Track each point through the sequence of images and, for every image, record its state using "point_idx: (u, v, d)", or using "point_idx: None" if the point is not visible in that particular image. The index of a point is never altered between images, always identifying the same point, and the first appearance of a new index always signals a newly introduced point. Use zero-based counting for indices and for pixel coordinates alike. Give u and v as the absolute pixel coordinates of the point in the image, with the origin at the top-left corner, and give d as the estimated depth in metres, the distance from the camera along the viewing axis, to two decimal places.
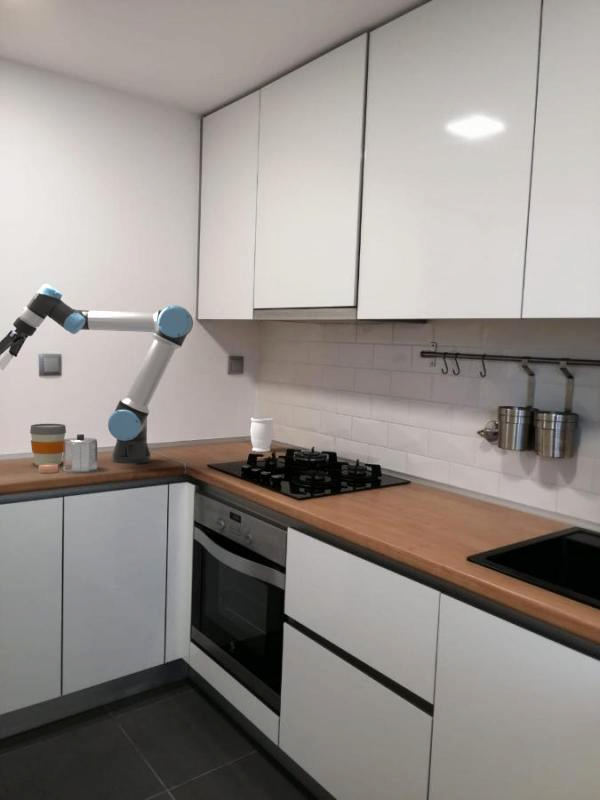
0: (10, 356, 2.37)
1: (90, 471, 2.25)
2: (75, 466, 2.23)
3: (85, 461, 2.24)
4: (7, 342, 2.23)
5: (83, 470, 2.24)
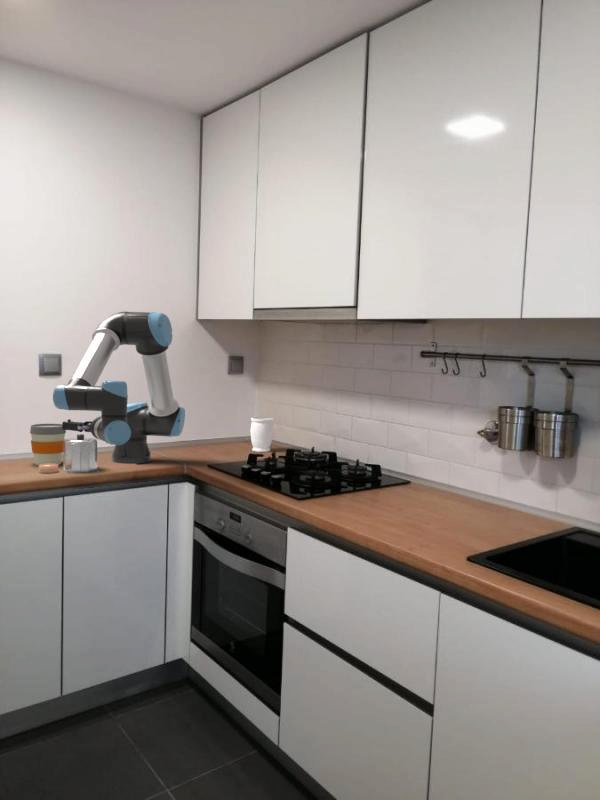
0: None
1: (90, 471, 2.25)
2: (75, 466, 2.23)
3: (85, 461, 2.24)
4: None
5: (83, 470, 2.24)
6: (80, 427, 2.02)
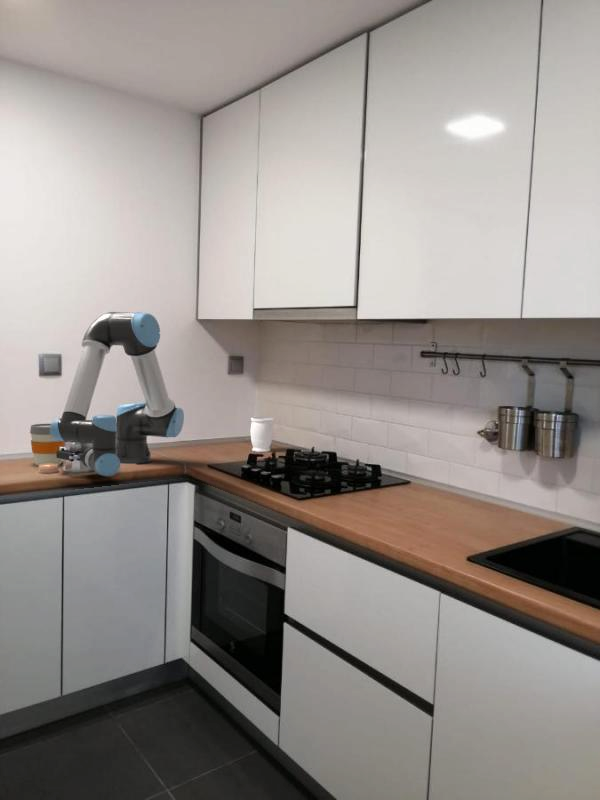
0: None
1: (90, 471, 2.25)
2: (75, 466, 2.23)
3: None
4: None
5: (83, 470, 2.24)
6: (71, 457, 2.15)
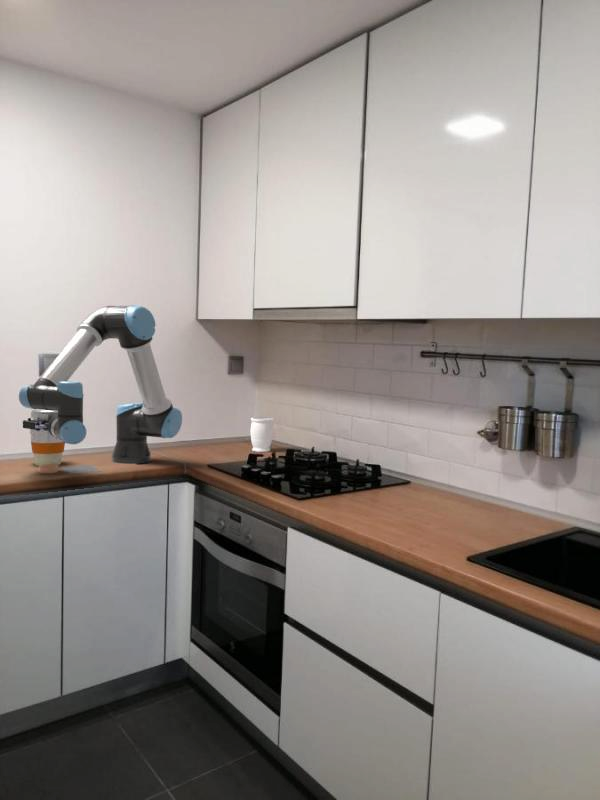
0: None
1: (90, 471, 2.25)
2: (42, 437, 2.16)
3: None
4: None
5: (51, 441, 2.17)
6: (37, 426, 2.08)
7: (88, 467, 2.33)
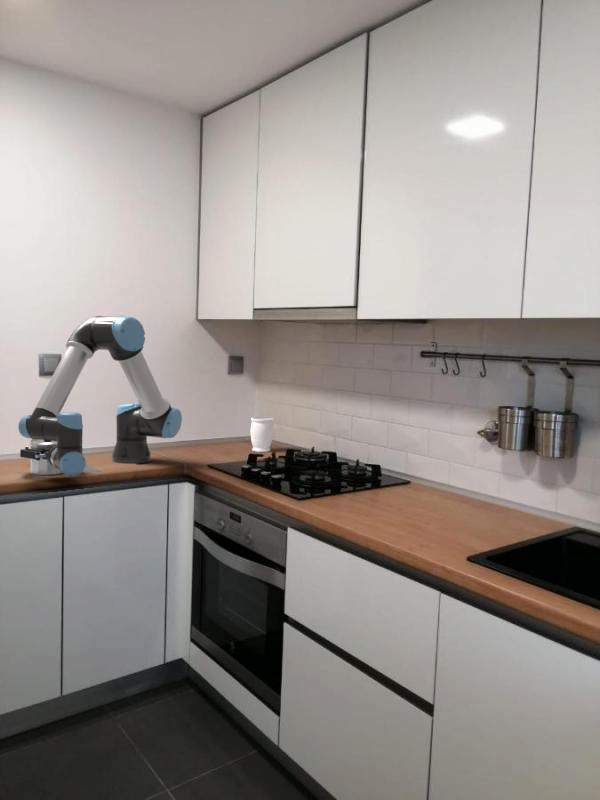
0: None
1: (90, 471, 2.25)
2: (42, 469, 2.17)
3: None
4: None
5: (51, 473, 2.18)
6: (37, 456, 2.08)
7: (88, 467, 2.33)
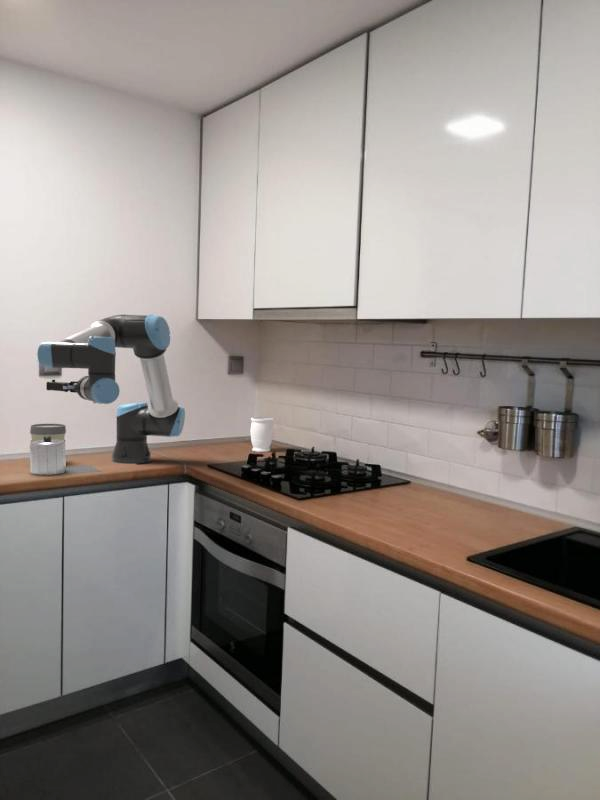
0: None
1: (90, 471, 2.25)
2: (42, 469, 2.17)
3: (53, 464, 2.18)
4: None
5: (51, 473, 2.18)
6: (65, 387, 1.93)
7: (88, 467, 2.33)
